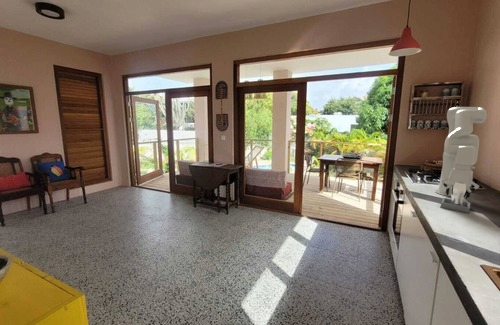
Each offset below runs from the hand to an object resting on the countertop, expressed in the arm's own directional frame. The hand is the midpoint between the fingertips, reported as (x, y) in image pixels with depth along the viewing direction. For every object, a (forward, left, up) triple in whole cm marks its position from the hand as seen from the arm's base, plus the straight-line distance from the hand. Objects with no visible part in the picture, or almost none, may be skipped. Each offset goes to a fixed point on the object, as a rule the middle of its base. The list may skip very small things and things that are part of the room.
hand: (456, 196), depth 138 cm
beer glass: (0, 0, -6) cm, 6 cm away
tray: (0, 0, -7) cm, 7 cm away
